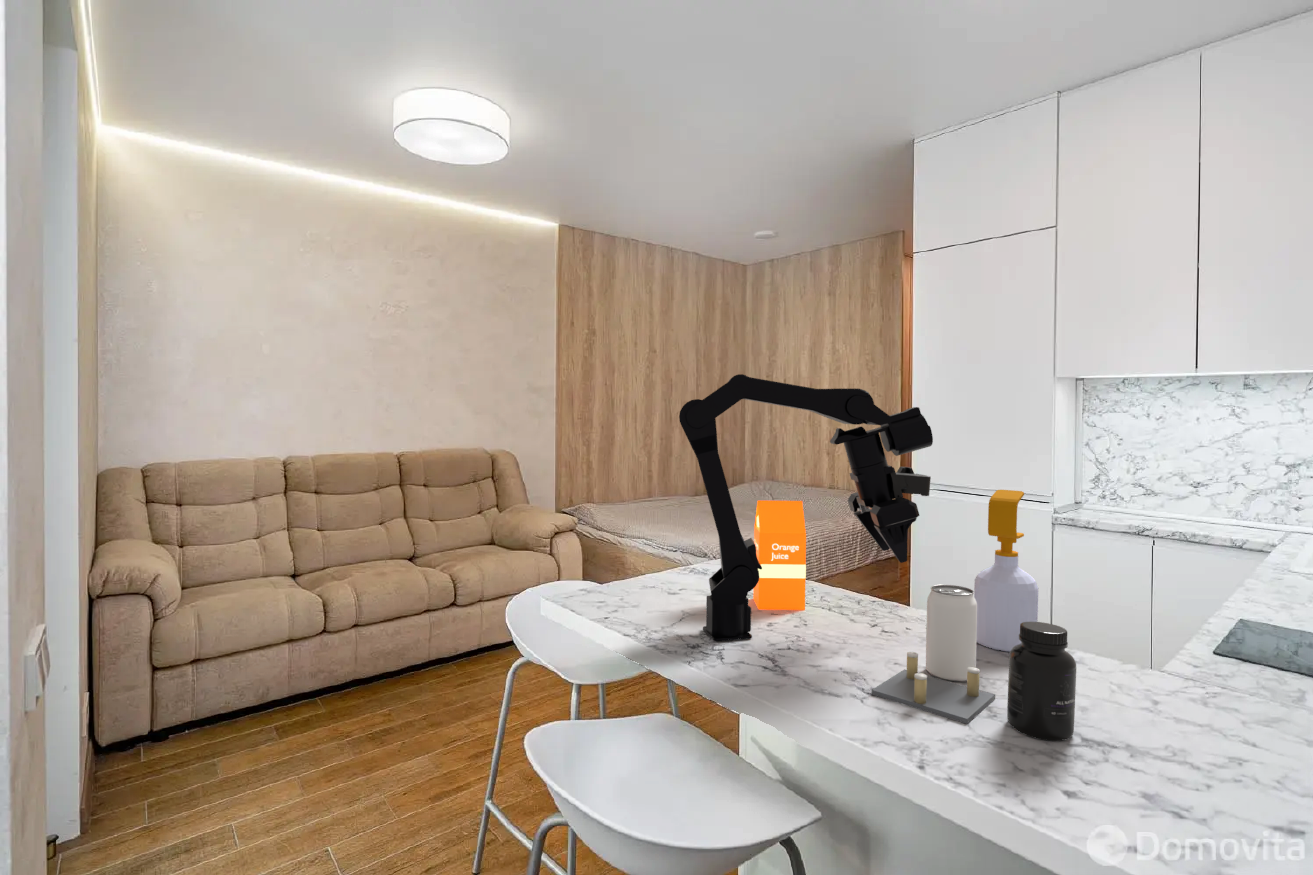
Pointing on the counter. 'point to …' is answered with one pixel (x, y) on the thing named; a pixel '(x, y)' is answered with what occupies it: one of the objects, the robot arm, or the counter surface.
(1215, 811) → the counter surface
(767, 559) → the orange juice
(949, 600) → the can
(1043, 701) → the supplement bottle
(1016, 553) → the soap bottle
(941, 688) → the peg board
